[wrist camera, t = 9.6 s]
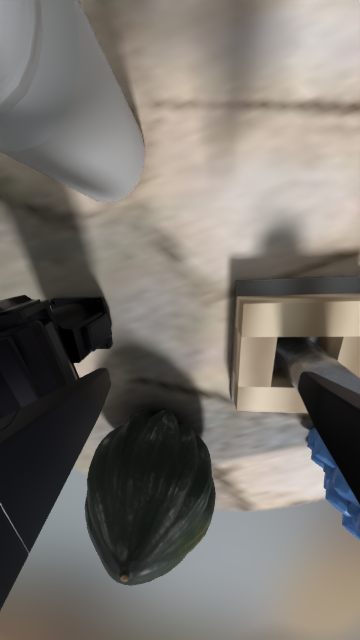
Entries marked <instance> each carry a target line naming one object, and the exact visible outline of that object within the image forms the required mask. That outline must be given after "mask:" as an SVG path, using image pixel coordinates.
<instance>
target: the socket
mask: <svg viewBox="0 0 360 640" xmlns="http://www.w3.org/2000/svg"><path fill="white" fill-rule="evenodd" d="M277 337H307V338H309V339H310V340H311V341H312V342H314V343H315V344H316V345H318V346H319V347H320V348H322V349H323V350H324V351H325V352H327V353H328V354H329V355H331V356H332V357H333V358H334V359H336V360H337V361H338V362H340V363H341V364H342V365H343V366H345V367H346V368H347V369H349V370H350V371H351V372H353V373H354V374H355V375H356V376H358V377H359V378H360V276H340V277H314V278H287V279H260V280H236V288H235V309H234V329H233V350H232V370H231V391H230V397H231V401H234V402H235V406H236V410H237V411H257V412H286V413H308V412H307V410H306V408H305V405H304V403H303V401H302V399H301V397H300V394H299V393H298V392H297V390H296V389H295V387H294V386H293V385H292V383H291V382H290V380H289V379H288V378H287V376H286V375H285V373H284V372H283V371H282V369H281V368H280V366H279V365H278V364H277V362H276V361H275V351H276V344H277Z"/></svg>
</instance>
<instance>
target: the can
mask: <svg viewBox="0 0 360 640" xmlns="http://www.w3.org/2000/svg"><path fill="white" fill-rule="evenodd" d="M0 152H2V153H4V154H6V155H8V156H10V157H12V158H14V159H16V160H18V161H20V162H22V163H24V164H26V165H27V166H29V167H31V168H33V169H35V170H37V171H39V172H41V173H43V174H45V175H47V176H49V177H51V178H53V179H55V180H57V181H59V182H61V183H62V184H64V185H66V186H68V187H70V188H72V189H74V190H76V191H78V192H80V193H82V194H84V195H86V196H88V197H90V198H92V199H94V200H96V201H99V202H106V203H111V202H115V201H119V200H122V199H123V198H124V197H126V196H127V195H129V194H130V193H131V192H132V191H133V189H134V188H135V187H136V185H137V184H138V182H139V180H140V177H141V174H142V171H143V168H144V158H145V148H144V143H143V137H142V133H141V131H140V128H139V126H138V124H137V122H136V120H135V118H134V116H133V114H132V111H131V109H130V107H129V105H128V103H127V101H126V99H125V97H124V94H123V92H122V90H121V88H120V86H119V84H118V82H117V80H116V78H115V75H114V73H113V71H112V69H111V67H110V65H109V63H108V61H107V58H106V56H105V54H104V52H103V50H102V48H101V46H100V44H99V42H98V39H97V37H96V35H95V33H94V31H93V29H92V27H91V25H90V23H89V20H88V18H87V16H86V14H85V12H84V10H83V8H82V6H81V3H80V1H79V0H0Z"/></svg>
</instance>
